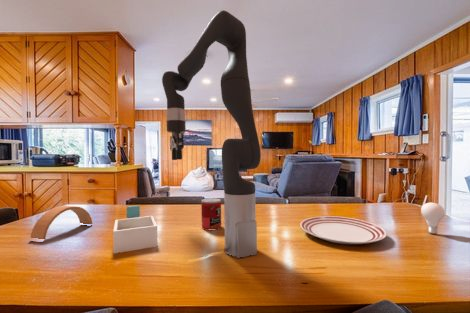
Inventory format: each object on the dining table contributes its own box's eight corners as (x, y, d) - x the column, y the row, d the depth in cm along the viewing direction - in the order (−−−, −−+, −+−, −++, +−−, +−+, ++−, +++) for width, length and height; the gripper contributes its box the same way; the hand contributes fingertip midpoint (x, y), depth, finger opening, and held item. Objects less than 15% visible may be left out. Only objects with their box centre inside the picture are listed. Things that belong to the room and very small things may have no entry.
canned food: (212, 231, 87) (211, 202, 87) (197, 228, 92) (197, 200, 92) (225, 226, 93) (225, 199, 93) (210, 223, 98) (210, 197, 98)
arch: (29, 241, 80) (29, 212, 80) (81, 225, 99) (81, 201, 99) (42, 243, 78) (42, 213, 78) (93, 226, 97) (92, 202, 97)
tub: (157, 248, 72) (157, 225, 72) (113, 256, 67) (113, 231, 67) (152, 235, 84) (152, 215, 84) (115, 240, 79) (115, 219, 79)
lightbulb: (449, 237, 78) (449, 204, 78) (427, 236, 80) (427, 204, 80) (437, 231, 85) (436, 201, 85) (417, 230, 86) (416, 200, 86)
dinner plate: (403, 253, 66) (403, 242, 66) (303, 247, 72) (303, 236, 72) (368, 225, 93) (368, 217, 93) (298, 222, 99) (297, 214, 99)
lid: (152, 232, 88) (152, 211, 89) (115, 237, 83) (114, 215, 83) (149, 222, 102) (148, 204, 102) (116, 226, 96) (116, 207, 96)
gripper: (189, 118, 92) (190, 159, 92) (181, 123, 105) (181, 159, 104) (170, 116, 89) (170, 159, 88) (163, 122, 101) (164, 160, 101)
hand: (176, 159), depth 96 cm, fingers open, 8 cm apart
